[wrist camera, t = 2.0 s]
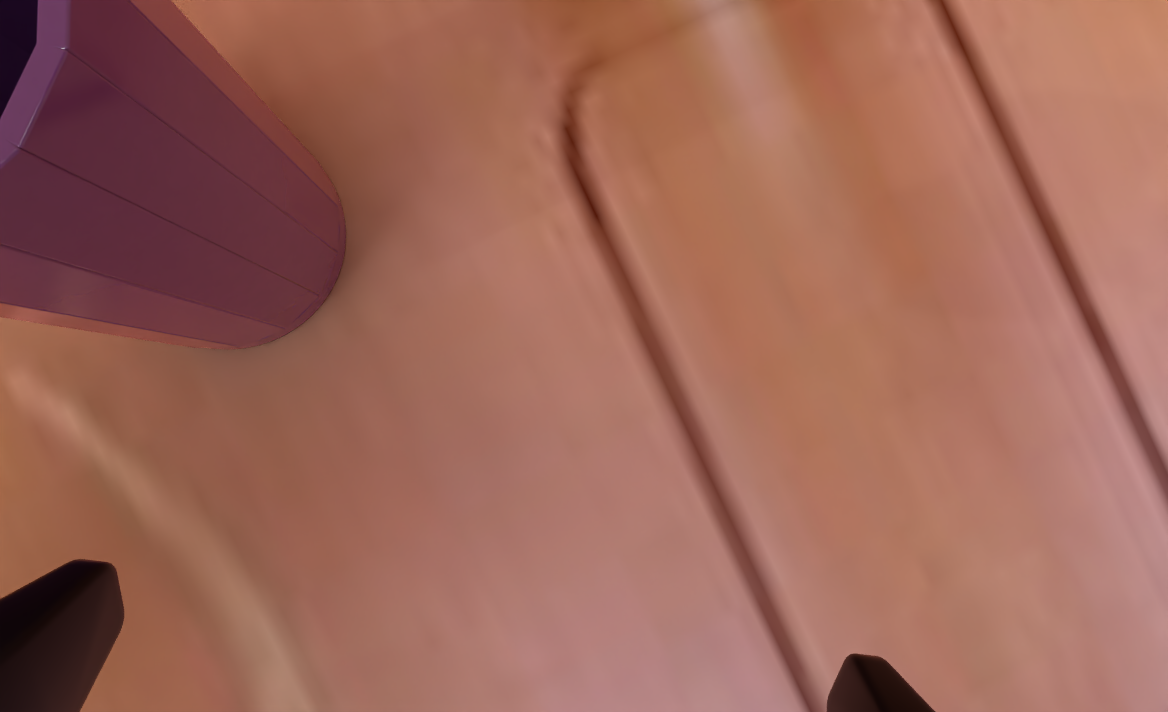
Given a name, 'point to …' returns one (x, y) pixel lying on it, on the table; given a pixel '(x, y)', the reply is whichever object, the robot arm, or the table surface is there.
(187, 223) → the tumbler
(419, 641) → the table surface
